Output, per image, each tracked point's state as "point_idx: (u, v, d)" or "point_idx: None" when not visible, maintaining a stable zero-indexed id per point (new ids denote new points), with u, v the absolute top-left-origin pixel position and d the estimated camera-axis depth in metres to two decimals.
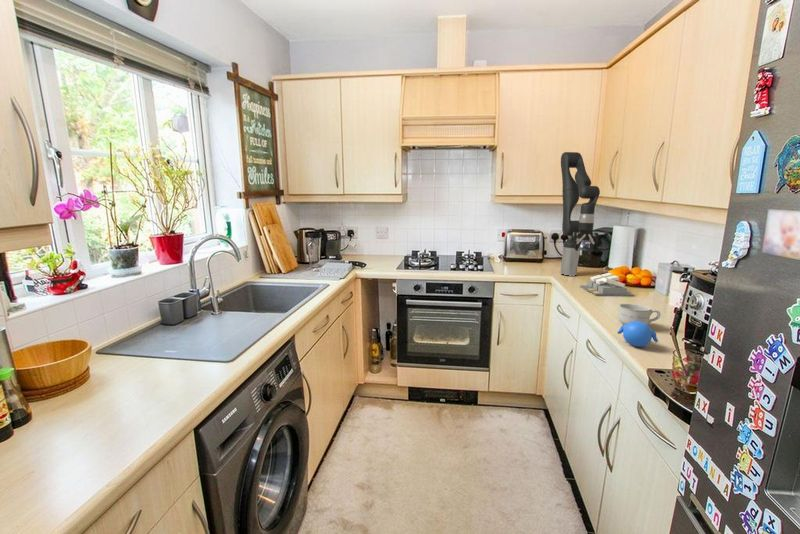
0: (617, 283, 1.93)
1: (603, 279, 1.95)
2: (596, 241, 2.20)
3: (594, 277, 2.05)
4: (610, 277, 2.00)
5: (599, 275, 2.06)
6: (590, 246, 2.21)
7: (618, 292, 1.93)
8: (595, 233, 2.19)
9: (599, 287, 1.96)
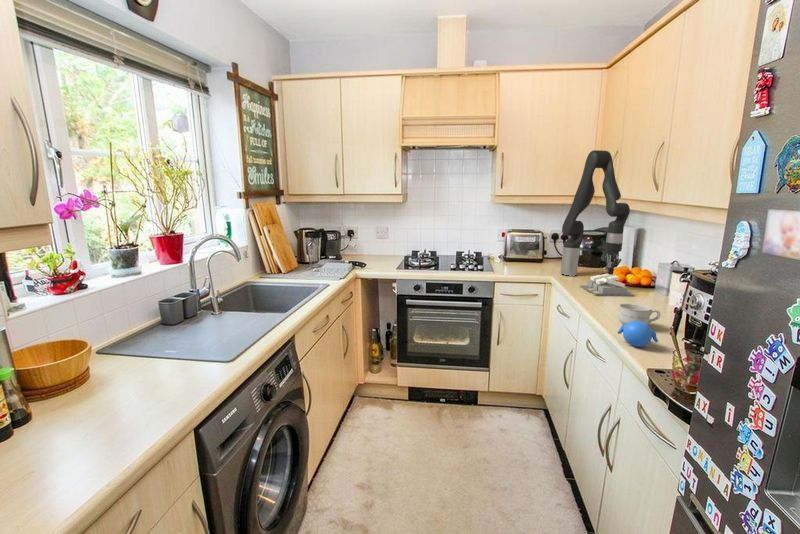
0: (617, 283, 1.93)
1: (603, 279, 1.95)
2: None
3: (594, 277, 2.05)
4: (610, 277, 2.00)
5: (599, 275, 2.06)
6: None
7: (618, 292, 1.93)
8: None
9: (599, 287, 1.96)
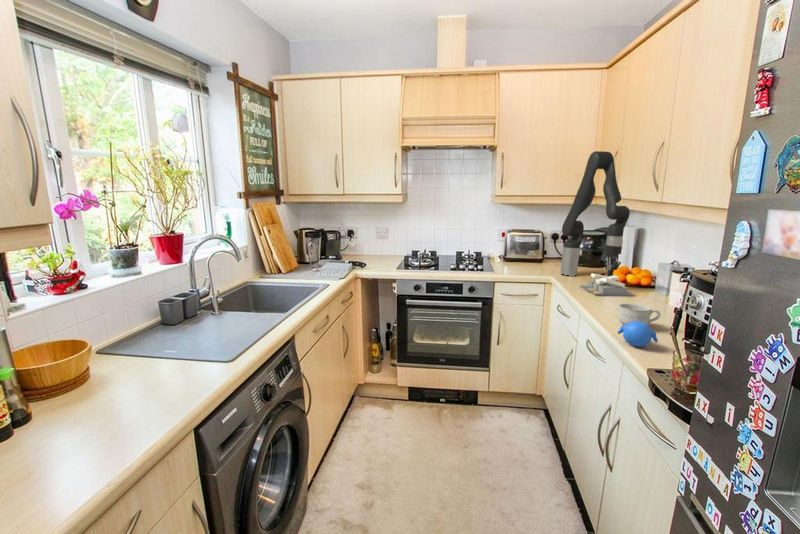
0: (617, 283, 1.93)
1: (603, 279, 1.95)
2: None
3: (595, 274, 2.05)
4: (610, 277, 2.00)
5: (600, 275, 2.06)
6: None
7: (618, 292, 1.93)
8: None
9: (599, 287, 1.96)
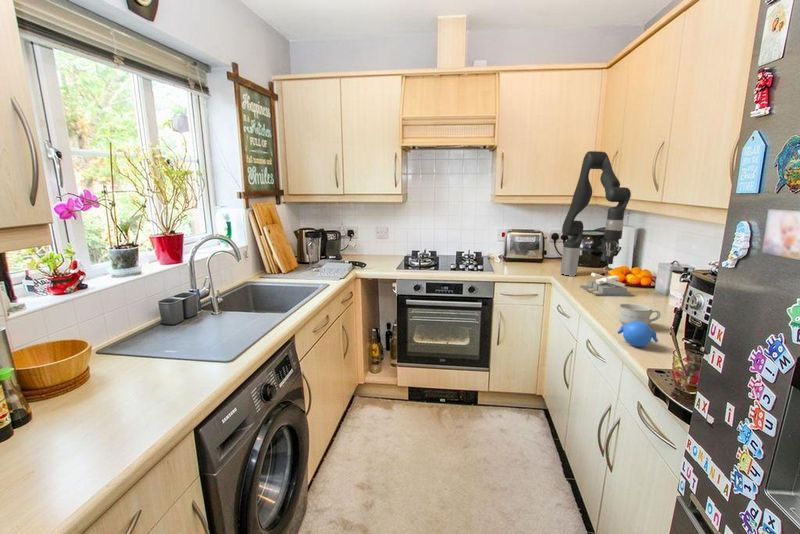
0: (617, 283, 1.93)
1: (603, 279, 1.95)
2: None
3: None
4: (610, 277, 2.00)
5: (600, 275, 2.06)
6: None
7: (618, 292, 1.93)
8: None
9: (599, 287, 1.96)
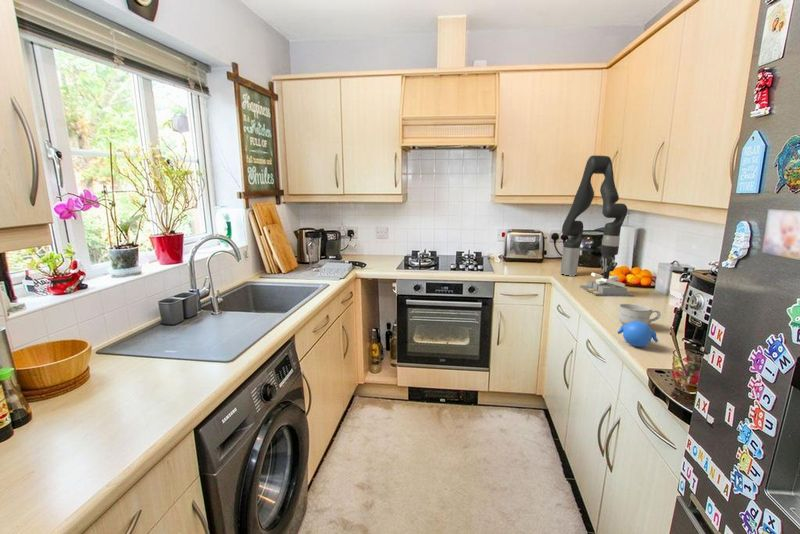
0: (617, 283, 1.93)
1: (603, 279, 1.95)
2: None
3: None
4: (610, 277, 2.00)
5: (600, 275, 2.06)
6: None
7: (618, 292, 1.93)
8: None
9: (599, 287, 1.96)
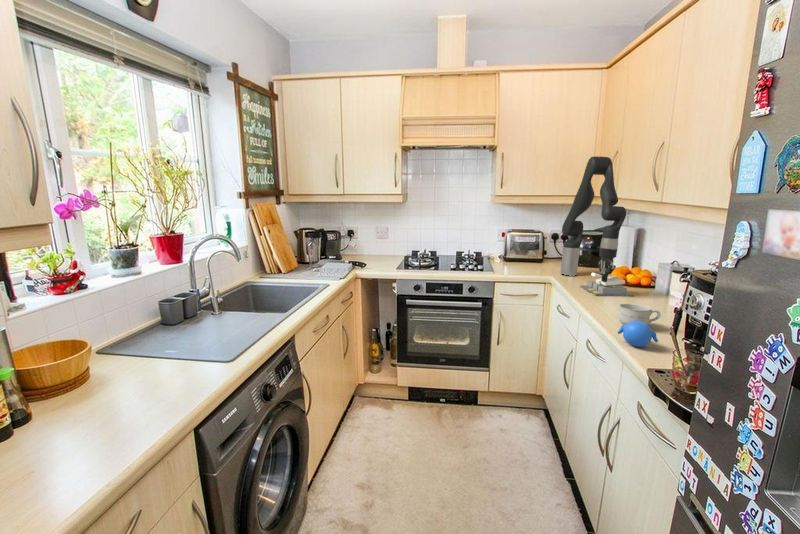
0: (617, 282, 1.93)
1: (602, 283, 1.95)
2: None
3: None
4: (610, 277, 2.00)
5: (600, 275, 2.06)
6: None
7: (618, 292, 1.93)
8: None
9: (599, 287, 1.96)
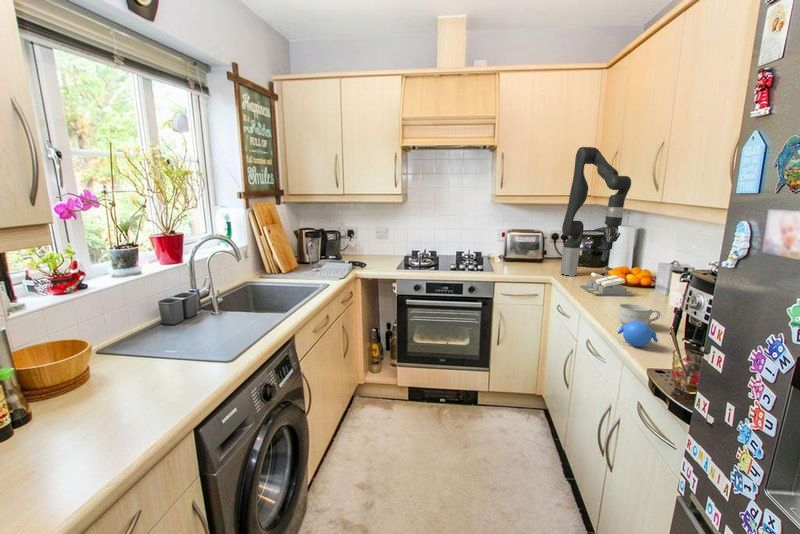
0: (617, 282, 1.93)
1: (602, 284, 1.95)
2: None
3: None
4: (610, 277, 2.00)
5: (600, 275, 2.06)
6: None
7: (618, 292, 1.93)
8: None
9: (599, 287, 1.96)
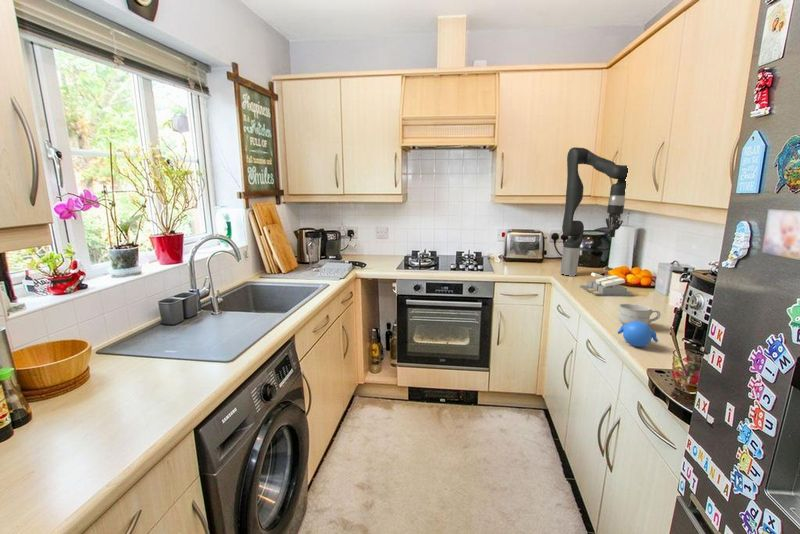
0: (617, 282, 1.93)
1: (602, 284, 1.95)
2: None
3: None
4: (610, 277, 2.00)
5: (600, 275, 2.06)
6: None
7: (618, 292, 1.93)
8: None
9: (599, 287, 1.96)
